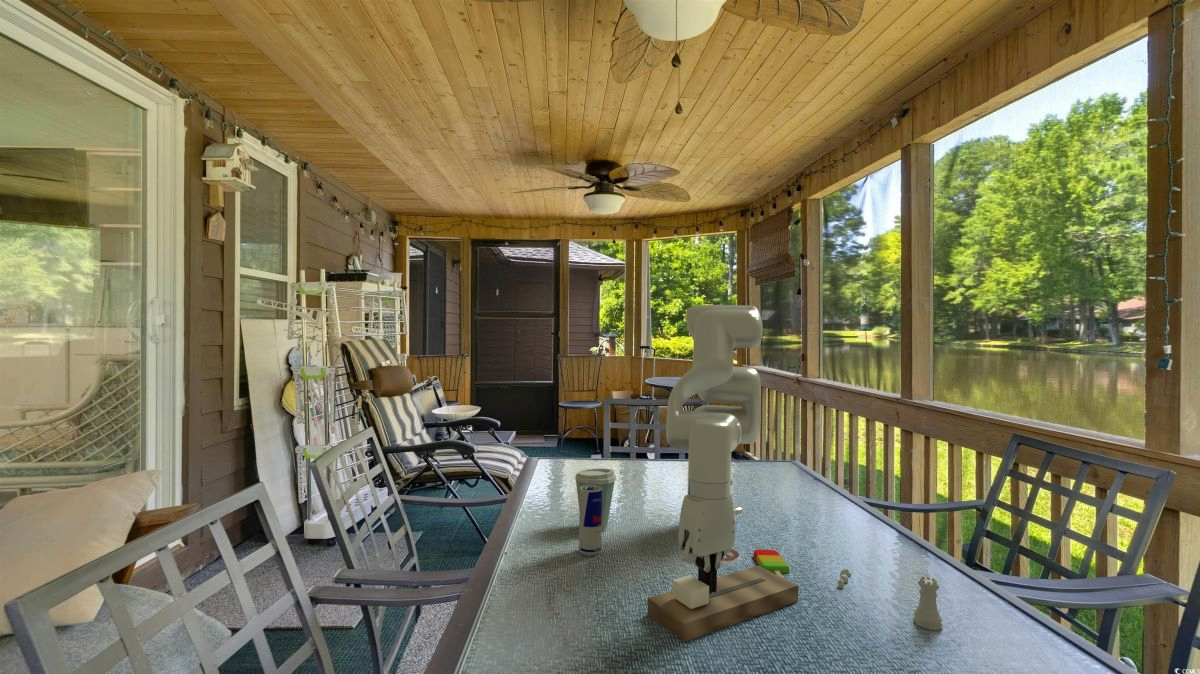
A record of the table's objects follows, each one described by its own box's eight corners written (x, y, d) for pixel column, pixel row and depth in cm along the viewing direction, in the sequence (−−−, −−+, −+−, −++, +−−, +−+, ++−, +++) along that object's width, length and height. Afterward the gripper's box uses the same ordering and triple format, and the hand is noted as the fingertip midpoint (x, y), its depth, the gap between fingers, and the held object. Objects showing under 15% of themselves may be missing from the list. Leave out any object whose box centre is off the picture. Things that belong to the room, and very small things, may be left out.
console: (757, 580, 113) (758, 565, 113) (798, 601, 104) (798, 584, 104) (647, 614, 98) (647, 597, 98) (683, 641, 90) (684, 623, 90)
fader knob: (689, 591, 100) (690, 575, 100) (708, 603, 96) (709, 586, 96) (672, 596, 98) (672, 580, 98) (691, 609, 94) (691, 591, 94)
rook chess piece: (907, 618, 98) (908, 574, 98) (930, 617, 99) (931, 573, 99) (924, 632, 94) (925, 585, 94) (948, 631, 94) (949, 584, 94)
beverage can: (598, 557, 123) (599, 491, 122) (576, 555, 124) (577, 489, 123) (603, 549, 127) (604, 484, 127) (581, 547, 129) (582, 483, 128)
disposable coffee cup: (567, 531, 138) (568, 472, 138) (584, 518, 148) (585, 463, 148) (606, 538, 134) (607, 477, 134) (621, 524, 144) (622, 467, 144)
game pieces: (841, 574, 117) (841, 565, 117) (851, 576, 116) (852, 567, 116) (833, 588, 110) (834, 578, 110) (845, 591, 109) (845, 581, 109)
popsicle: (776, 557, 126) (776, 549, 126) (798, 587, 111) (798, 578, 111) (752, 556, 126) (752, 548, 126) (770, 587, 111) (771, 578, 111)
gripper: (724, 478, 106) (722, 572, 106) (663, 488, 98) (661, 591, 98) (754, 487, 99) (752, 588, 99) (691, 500, 91) (689, 609, 92)
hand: (707, 589), depth 99 cm, fingers closed
